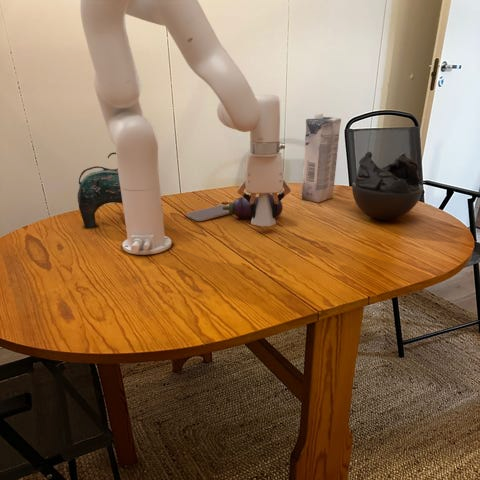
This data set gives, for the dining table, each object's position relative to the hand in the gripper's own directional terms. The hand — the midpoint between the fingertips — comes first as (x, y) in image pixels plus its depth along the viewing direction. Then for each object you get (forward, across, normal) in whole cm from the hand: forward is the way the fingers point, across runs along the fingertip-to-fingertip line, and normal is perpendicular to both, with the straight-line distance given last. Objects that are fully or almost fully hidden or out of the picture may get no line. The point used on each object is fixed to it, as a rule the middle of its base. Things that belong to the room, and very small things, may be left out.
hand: (263, 216), depth 124 cm
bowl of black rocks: (+5, -37, -10) cm, 39 cm away
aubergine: (+4, +3, -12) cm, 13 cm away
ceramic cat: (+4, +43, -8) cm, 44 cm away
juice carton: (+5, -21, -33) cm, 39 cm away
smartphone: (+4, +15, -16) cm, 22 cm away
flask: (+2, 0, 0) cm, 2 cm away
